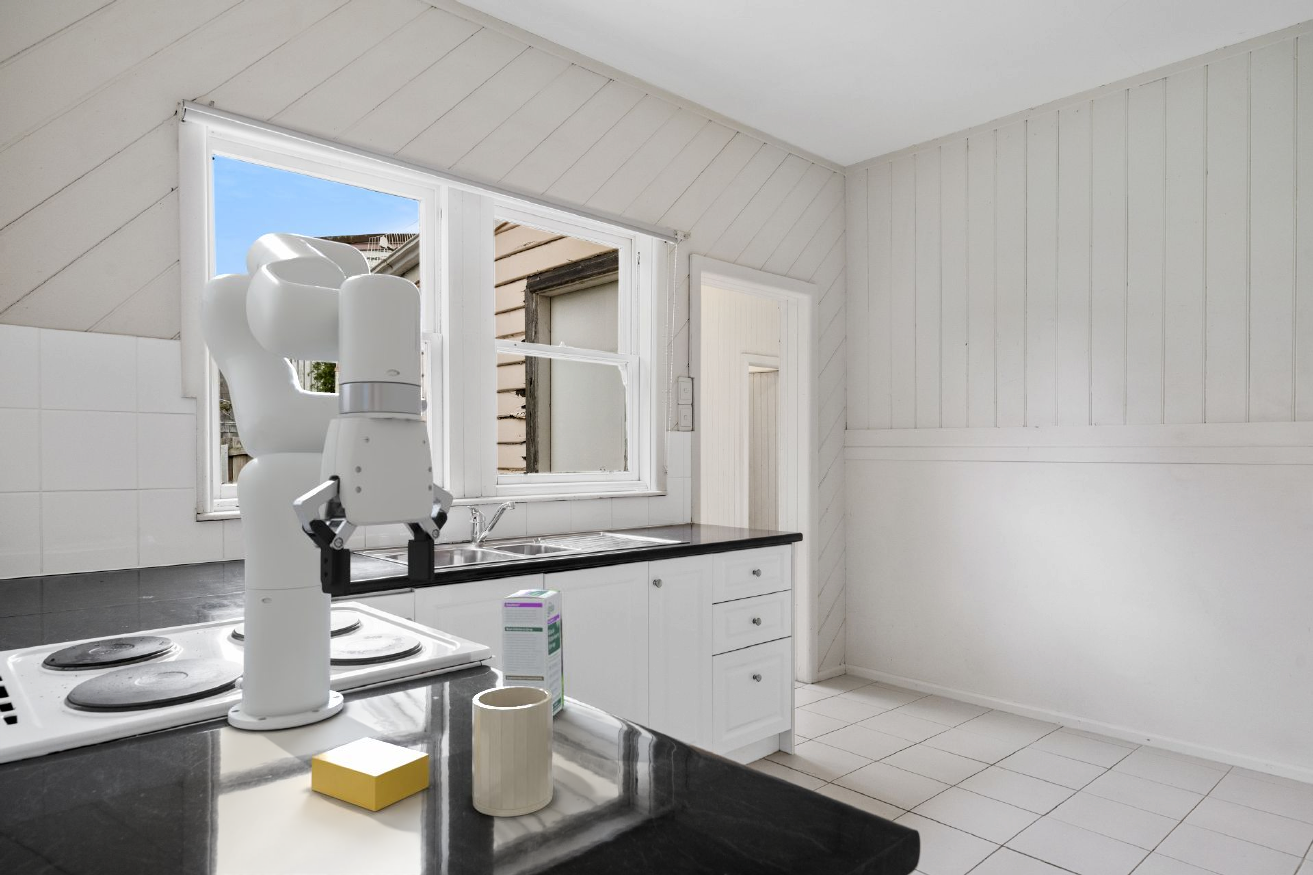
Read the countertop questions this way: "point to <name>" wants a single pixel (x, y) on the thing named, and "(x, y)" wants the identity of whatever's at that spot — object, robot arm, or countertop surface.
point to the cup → (512, 750)
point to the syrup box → (534, 641)
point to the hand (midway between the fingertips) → (380, 586)
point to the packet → (370, 773)
